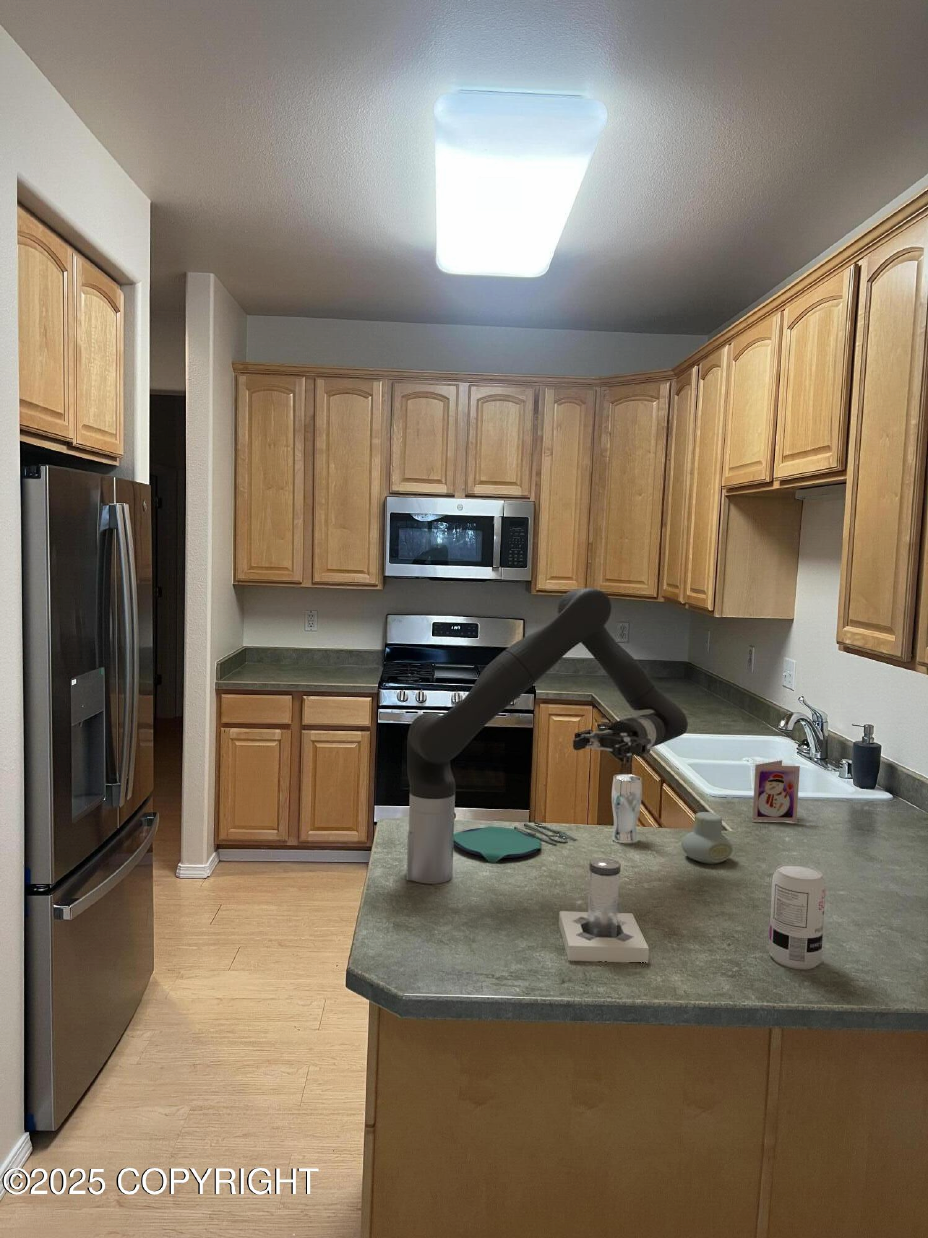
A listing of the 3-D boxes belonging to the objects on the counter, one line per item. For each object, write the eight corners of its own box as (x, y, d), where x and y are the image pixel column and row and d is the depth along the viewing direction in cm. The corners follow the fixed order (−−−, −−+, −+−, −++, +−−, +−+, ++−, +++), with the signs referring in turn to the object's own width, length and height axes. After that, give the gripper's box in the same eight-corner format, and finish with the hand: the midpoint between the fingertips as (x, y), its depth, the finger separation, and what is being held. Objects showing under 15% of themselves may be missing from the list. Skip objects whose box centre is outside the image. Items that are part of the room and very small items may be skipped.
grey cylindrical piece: (588, 949, 145) (592, 867, 144) (584, 936, 150) (587, 857, 149) (619, 950, 145) (623, 868, 144) (613, 937, 150) (617, 858, 149)
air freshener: (712, 851, 199) (714, 808, 198) (738, 863, 191) (740, 818, 191) (674, 856, 194) (676, 812, 193) (699, 868, 187) (701, 823, 186)
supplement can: (760, 949, 147) (764, 863, 146) (806, 949, 148) (811, 863, 147) (781, 971, 139) (786, 880, 138) (830, 971, 140) (836, 880, 139)
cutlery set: (435, 843, 198) (435, 833, 198) (532, 825, 216) (532, 816, 216) (489, 870, 182) (490, 860, 182) (589, 848, 201) (590, 838, 200)
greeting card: (753, 823, 222) (756, 765, 221) (743, 815, 229) (746, 759, 228) (797, 824, 222) (801, 767, 221) (786, 816, 229) (790, 760, 228)
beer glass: (639, 846, 200) (642, 782, 199) (609, 843, 202) (611, 779, 201) (639, 837, 207) (642, 775, 206) (610, 834, 209) (612, 773, 208)
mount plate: (568, 960, 141) (568, 945, 140) (558, 925, 155) (559, 911, 154) (648, 963, 141) (648, 948, 140) (631, 927, 155) (632, 913, 154)
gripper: (600, 713, 180) (563, 723, 167) (665, 722, 172) (631, 734, 159) (599, 749, 181) (561, 762, 167) (663, 759, 172) (629, 774, 159)
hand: (595, 748), depth 163 cm, fingers open, 8 cm apart
